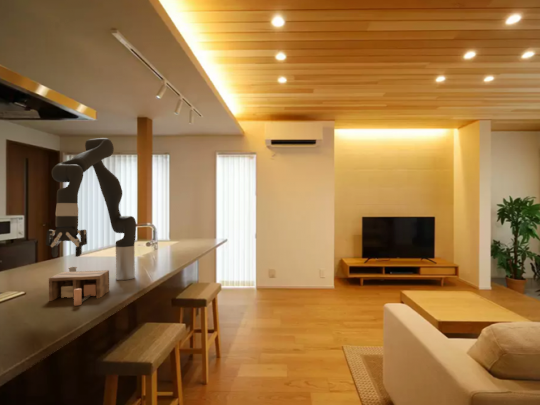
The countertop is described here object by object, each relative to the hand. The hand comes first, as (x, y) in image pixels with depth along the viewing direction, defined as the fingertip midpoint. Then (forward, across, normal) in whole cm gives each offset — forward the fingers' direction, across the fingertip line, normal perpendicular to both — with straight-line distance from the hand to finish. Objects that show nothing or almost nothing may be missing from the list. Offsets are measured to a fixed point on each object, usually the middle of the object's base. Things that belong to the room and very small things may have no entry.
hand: (66, 256), depth 127 cm
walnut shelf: (+19, +2, -16) cm, 25 cm away
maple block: (+19, +7, -16) cm, 26 cm away
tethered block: (+19, -3, -10) cm, 21 cm away
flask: (+19, +12, -29) cm, 36 cm away
